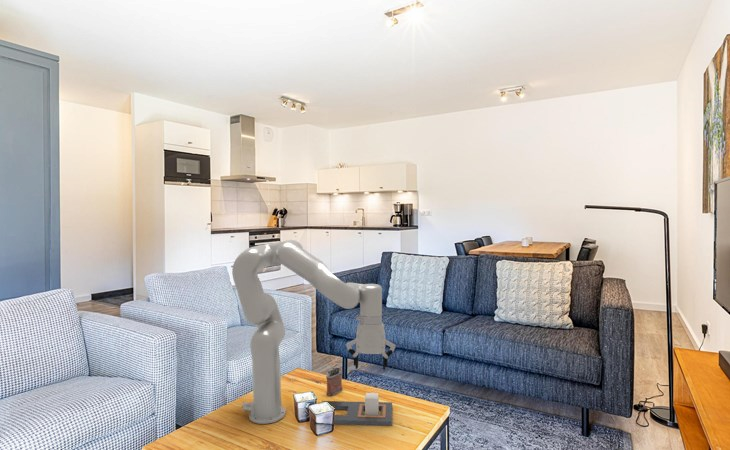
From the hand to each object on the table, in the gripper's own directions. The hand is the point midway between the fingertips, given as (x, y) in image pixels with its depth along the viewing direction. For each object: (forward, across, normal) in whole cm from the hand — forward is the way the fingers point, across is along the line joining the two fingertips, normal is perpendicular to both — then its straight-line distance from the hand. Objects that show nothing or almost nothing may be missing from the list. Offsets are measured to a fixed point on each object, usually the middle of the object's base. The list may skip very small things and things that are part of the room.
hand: (370, 368), depth 146 cm
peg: (+17, +1, 0) cm, 17 cm away
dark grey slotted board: (+17, -5, 0) cm, 18 cm away
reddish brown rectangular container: (+17, -15, +18) cm, 29 cm away
